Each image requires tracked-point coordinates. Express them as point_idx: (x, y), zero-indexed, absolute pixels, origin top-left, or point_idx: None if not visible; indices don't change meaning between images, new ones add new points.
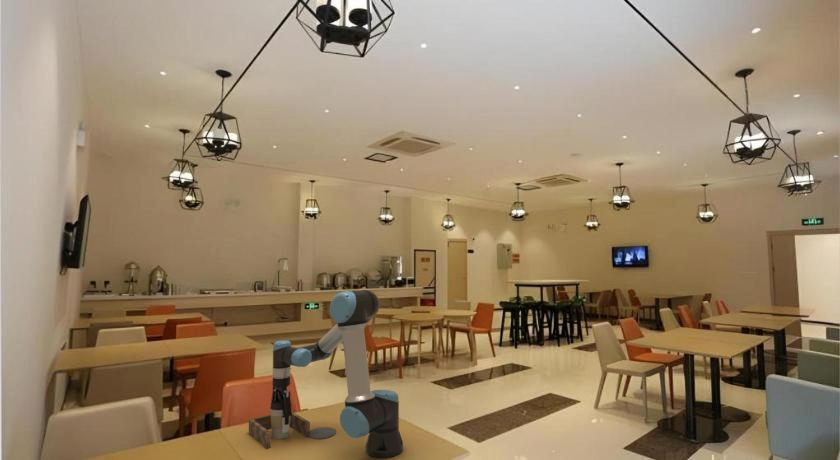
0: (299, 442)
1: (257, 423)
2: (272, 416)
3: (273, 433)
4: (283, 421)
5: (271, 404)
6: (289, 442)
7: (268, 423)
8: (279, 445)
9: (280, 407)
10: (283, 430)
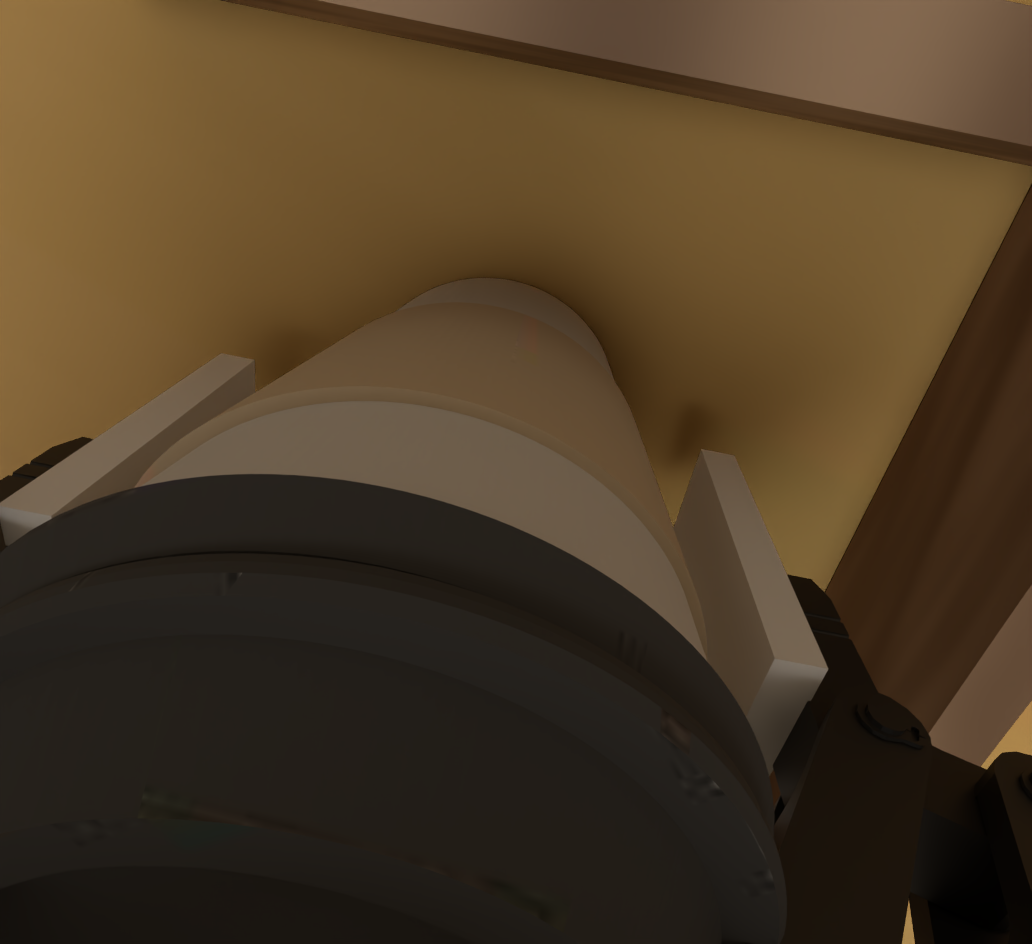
0: (69, 425)
1: (889, 82)
2: (361, 375)
3: (469, 292)
4: (85, 456)
5: (696, 774)
6: (156, 341)
7: (949, 495)
8: (137, 167)
9: None
10: (199, 377)
